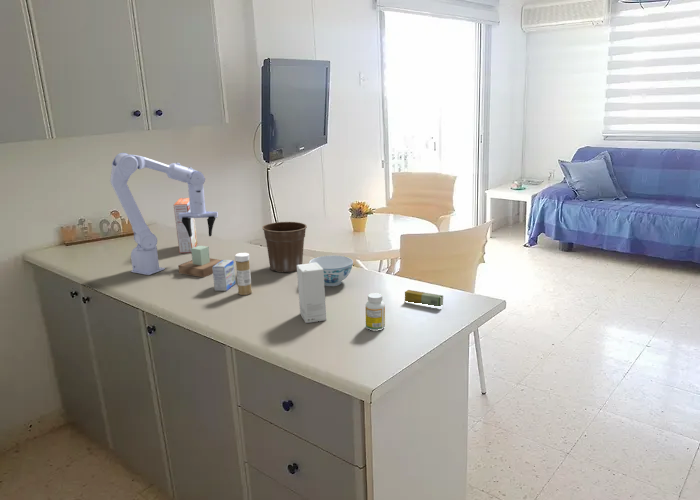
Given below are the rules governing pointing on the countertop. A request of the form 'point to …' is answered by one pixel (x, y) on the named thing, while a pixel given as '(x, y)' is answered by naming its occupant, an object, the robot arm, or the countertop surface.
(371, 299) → the supplement bottle
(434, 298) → the medication box
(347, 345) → the countertop surface
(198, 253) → the sage block
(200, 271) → the walnut block
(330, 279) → the chinaware
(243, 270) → the sprinkles bottle
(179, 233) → the cracker box
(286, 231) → the plant pot
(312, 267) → the skincare box
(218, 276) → the medicine box
